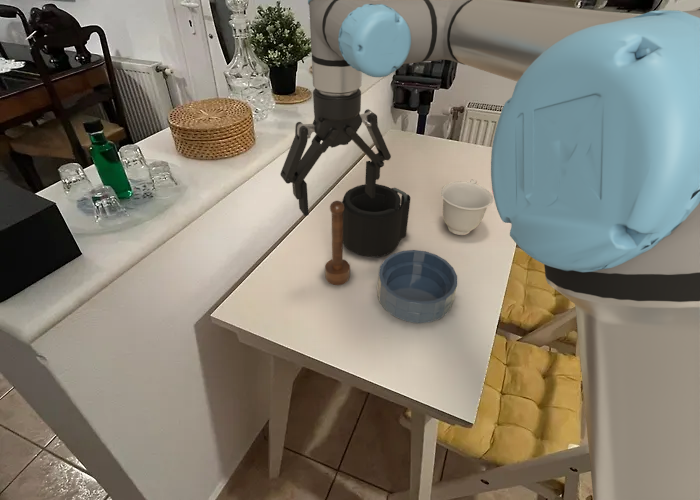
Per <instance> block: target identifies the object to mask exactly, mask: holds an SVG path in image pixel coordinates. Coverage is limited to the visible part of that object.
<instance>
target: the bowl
mask: <svg viewBox="0 0 700 500" xmlns="http://www.w3.org/2000/svg"><path fill="white" fill-rule="evenodd" d="M377 279H378V280H377V289H376V290H377V292H376V294H377V298H378V301H379V304H380V305H381V306H382V307H383V309H384V310H385V311H386V312H387V313H389V314H390V315H391V316H393V317H395V318H397V319H399V320H402V321H404V322H406V323H407V322H408V323H413V324H414V323H416V324H425V323H433V322H435V321H438V320H440V319H443V317H445V316H446V315H447V314H448V313H450V311H451V309H452V306H453V304H454V301H455V296H456V293H457V288H458V275H457V273H456V271H455V268H454V267H453V265H451V264H450V263H449V262H448V261H447V260H446V259H444V258H443V257H441V256H440V255H438V254H435V253H432V252H430V251H426V250H418V249H407V250H401V251H398V252H395V253H392V254H390V255H389V256H388V257H386V258H385V259H384V260H383V261H382V263H381V265H380V266H379V269H378V278H377Z"/></svg>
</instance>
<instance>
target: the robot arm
mask: <svg viewBox="0 0 700 500" xmlns="http://www.w3.org/2000/svg"><path fill="white" fill-rule="evenodd" d="M307 4H308V8H309V28H310V30H309V31H310V48H311V49H310V50H311V71H312V74H311V75H312V76H311V77H312V86H313V88H314V89H313V92H312V96H313V98H312V99H313V100H312V101H313V115H314V116H313V117H314V119H313V121H312V123H303V122H302V121H297V122H296V123H295V126H294V127H295V128H294V129H295V131H294V137H293V140H292V143H291V146H290V148H289V150H288V153H287V156H286V158H285V160H284V163H283V166H282V168H281V171H280V177H281V178H282V179H283V181H284V182H285V184H292V186H291V187H292V195H293V196H294V197H295V199H296V200H298V209H299V210H300V212H301V213H302V215H303V216H304V217H307V216H309V214H310V213H309V199H308V183H307V182H306V180H305V179H306V178H307V176H308V174H309V173H310V171H311V170H312V169H313V167H314V166H315V165H316V163H317V162H318V161H319V159H320V157H321V156H322V155H323V154H324V153H326V152H327V150H328V149H329V147H330V148H331V149H332V148H336V147H338V146H347V145H349V143H350V142H351V141H352V142H353V143H354V144H355V145H356V146H357V147H358V148H359V149H360V150H361V151H362V152H363V154H365V155H366V157H368V159H369V160H366V161H365V178H364V179H365V180H364V184H365V192H366V193H367V194H368V195H369V196H370V197H371V198H375V189H376V184H377V180H380V177H381V168H383V167H384V166H385V161H390V160H391V158H392V155H391V153H390V151H389V149H388V147H387V144H386V142H385V139H384V137H383V134H382V133H381V130H380V128H379V125H378V124H379V123H378V114H376V113H375V112H373V111H372V110H370V109H369V108H368V109H367V108H366V109H365V110H364V112H363V113H361V109H362V107H361V106H362V91H361V89H360V88H361V87H362V79H363V77H362V76H363V75H362V74H364V75H366V76H368V77H372V78H384V77H388V76H390V75H391V74H393V73H395V72H396V71H397V70H398V69H400V68H401V67H402V66H403V65H408V64H417V63H424V62H432V61H441V60H442V61H443V60H445V61H446V60H447V61H452V62H455V63H457V64H460V65H464V66H468V67H471V68H474V69H476V70H477V69H478V70H480V71H484V72H487V73H490V74H493V75H496V76H498V77H502V78H505V79H508V80H511V81H513V82H516V83H515V86H514V88H513V92H512V96H511V97H510V98H509V99H508V100H506V101H505V103H504V104H503V107H502V110H501V113H500V115H499V118H498V121H497V124H496V127H495V130H494V135H493V140H492V147H491V157H490V181H491V182H490V183H491V190H492V194H493V195H492V196H493V201H494V203H495V207H496V210H497V213H498V215H499V217H500V218H499V219H500V220H501V221H502V222H503V223H506V224H511V228H510V230H509V237H510V238H511V239H512V240H513V242H514V243H515V244H516V245H517V246H518V247H519V248H520V250H522V251H523V252H524V253H525V254H526V255H528V256H529V257H531V258H532V259H534V260H535V261H537V262H539V263H540V264H542V265H543V267H544V276H545V281H546V283H547V284H548V285H549V286H550V287H551V288H553V289H554V290H555V291H557V292H558V293H559V294H561V295H562V296H563V297H564V298H566V299H567V300H569V301H570V302H571V303H572V304H574V307H575V309H574V310H575V318H576V328H577V338H578V339H577V341H578V351H579V362H580V371H581V381H582V383H581V384H582V393H583V404H584V413H585V423H586V424H585V425H586V434H587V435H586V437H587V445H588V447H587V448H588V456H589V467H590V478H591V490H592V499H593V500H700V7H696V8H694V9H691V10H683V11H682V10H674V9H673V10H671V9H670V10H668V9H665V10H664V9H659V10H650V11H648V12H645V13H642V14H632V13H621V12H614V11H606V10H605V11H604V10H597V9H596V10H595V9H586V8H579V7H578V8H577V7H568V6H561V5H559V6H558V5H551V4H541V3H532V2H525V1H515V0H307ZM362 125H364V126H365V127H366V130H367V131H368V133H369V136H370V139H371V140H372V142H373V144H374V147H375V149H376V151H377V153H375V151H374V150H373V149H372V148H371V147H370V146H369V145H368V144H367V143H366V141H364V139H363V138H362V137H361V136H360V135H359V134H358V133H357V132H358V131H359V129H360V127H361V126H362ZM313 133H315V135H314V137H313V138H312V139H311V136H312V134H313ZM309 139H311V143H310V145H309V147H308V148H307V150H306V151H305V149H306V147H307V144H308V140H309Z"/></svg>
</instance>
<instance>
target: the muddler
mask: <svg viewBox="0 0 700 500" xmlns="http://www.w3.org/2000/svg"><path fill="white" fill-rule="evenodd" d="M344 209H345V207H344V204H343V203H342V201H341V200H334V201H332V202H331V203H330V205H329V210H330V213H331V259H330V260H328V261H327V262H326V263H325V265H324V270H325V271H324V273H325V280H326V281H327V282H328V283H329V284H331V285H334V286H342V285H344V284H346V283H347V282H348V281H349V280H350V272H351V269H350V268H351V266H350V265H351V264H350V263H349V261H347V260H345V259H344V243H343V212H344Z"/></svg>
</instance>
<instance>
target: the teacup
mask: <svg viewBox="0 0 700 500" xmlns="http://www.w3.org/2000/svg"><path fill="white" fill-rule="evenodd" d="M492 194H493V193H491V191H490V190H489V189H487V188H486V187H484V186H483V185H481V184H479V183H477V180H476V179H470V181H462V180H460V181H459V180H458V181H453V182H450V183H447V184H445V185H444V186H442V187H441V189H440V196H441V197H442V218H443V222H444V223H445V225H446V226H447V230H448V231H449V232H450V233H452V234H455V235H458V236H466V235H468V234H470V233H471V231H473V230H475V229H476V228H477V227H479V225H480V224H481V222H482V220H483V218H484V215H485V214H486V211H487V208H488V207H490V206H491V205H492V204H493V202H494V195H492Z"/></svg>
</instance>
